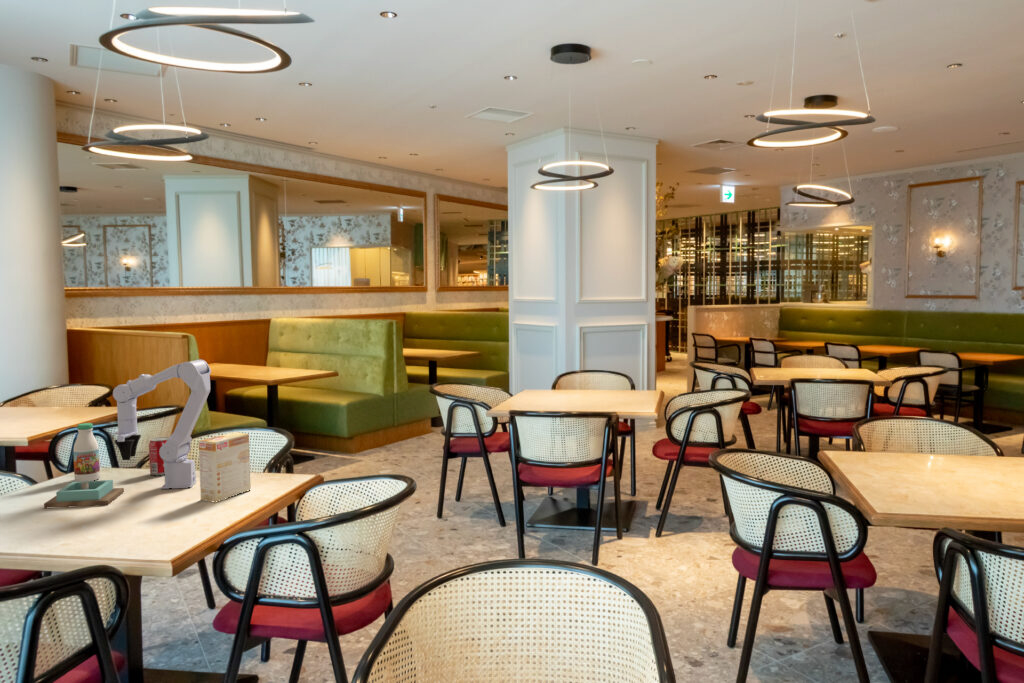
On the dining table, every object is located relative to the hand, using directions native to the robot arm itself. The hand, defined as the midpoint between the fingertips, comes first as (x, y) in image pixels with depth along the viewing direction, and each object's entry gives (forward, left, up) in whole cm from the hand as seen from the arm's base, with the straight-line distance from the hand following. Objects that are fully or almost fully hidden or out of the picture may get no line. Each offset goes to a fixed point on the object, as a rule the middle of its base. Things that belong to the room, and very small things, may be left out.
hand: (128, 458), depth 240 cm
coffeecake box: (-35, +19, -10) cm, 41 cm away
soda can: (-6, -14, -10) cm, 18 cm away
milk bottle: (+17, -10, -10) cm, 22 cm away
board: (+8, +16, -9) cm, 20 cm away
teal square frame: (+8, +16, -8) cm, 19 cm away
